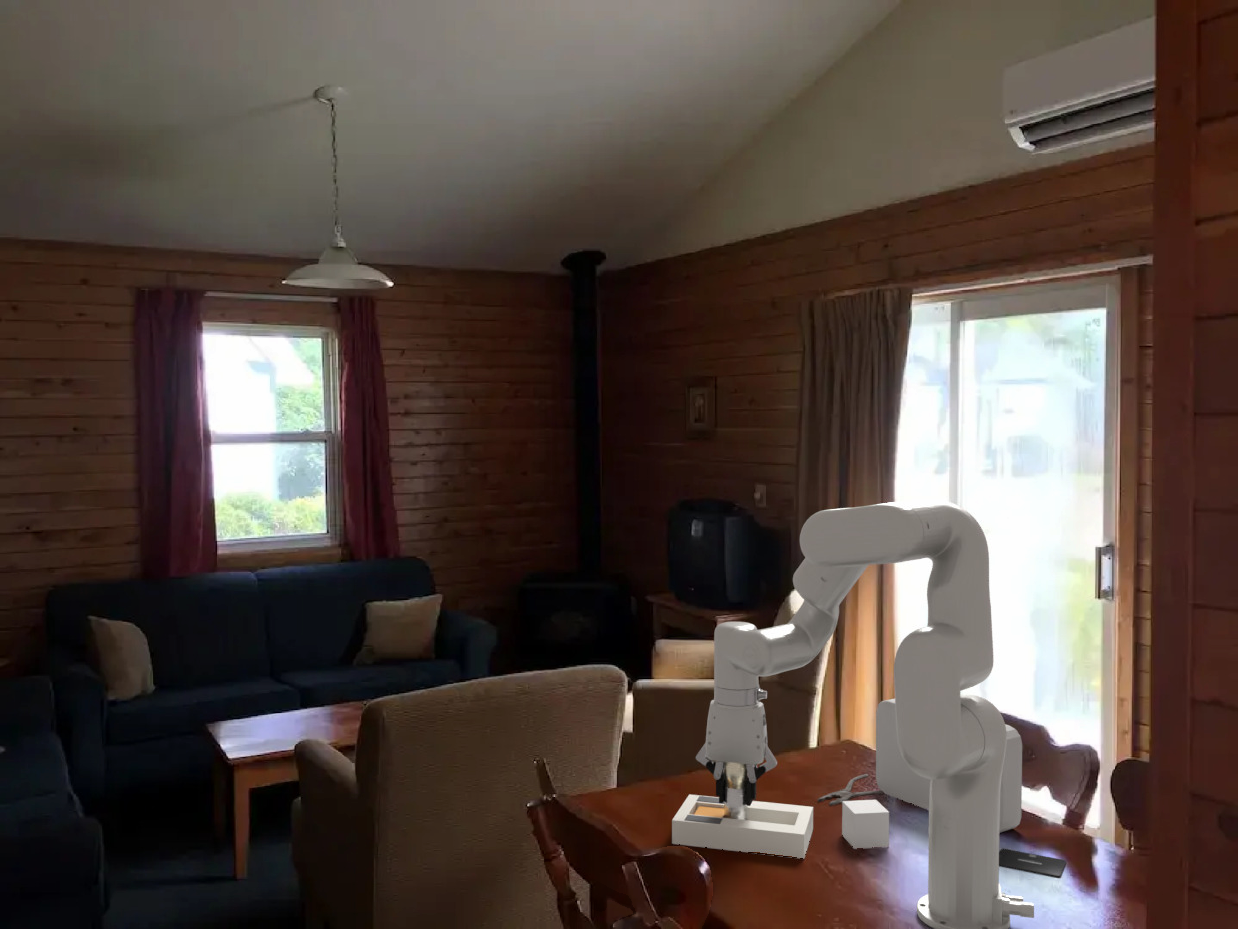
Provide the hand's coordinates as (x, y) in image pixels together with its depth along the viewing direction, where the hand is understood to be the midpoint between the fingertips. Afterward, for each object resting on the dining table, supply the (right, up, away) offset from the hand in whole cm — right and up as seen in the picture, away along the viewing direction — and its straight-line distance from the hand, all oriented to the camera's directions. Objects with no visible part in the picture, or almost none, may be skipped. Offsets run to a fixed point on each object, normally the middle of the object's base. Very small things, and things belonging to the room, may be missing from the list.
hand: (736, 800), depth 179 cm
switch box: (+1, -6, 0) cm, 6 cm away
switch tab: (-4, -5, +1) cm, 7 cm away
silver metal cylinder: (0, -4, 0) cm, 4 cm away
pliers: (+27, -6, +21) cm, 35 cm away
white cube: (+22, -6, -2) cm, 23 cm away
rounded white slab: (+39, -6, +12) cm, 42 cm away
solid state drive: (+46, -7, -11) cm, 48 cm away
